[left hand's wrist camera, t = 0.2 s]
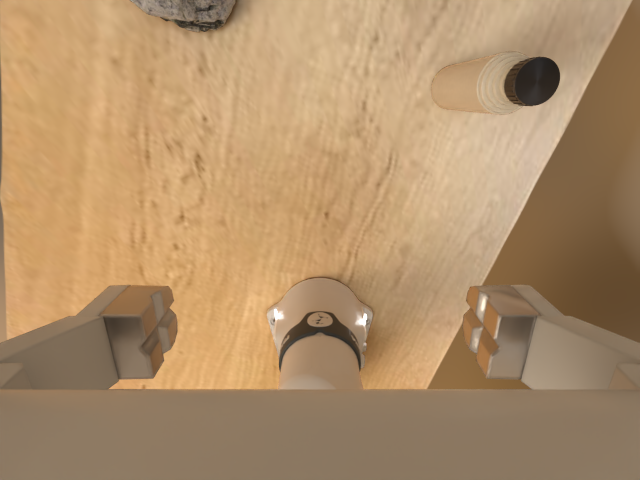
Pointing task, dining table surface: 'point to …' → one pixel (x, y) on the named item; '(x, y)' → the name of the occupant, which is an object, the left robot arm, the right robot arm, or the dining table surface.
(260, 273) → the dining table surface
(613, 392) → the left robot arm
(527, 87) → the cap
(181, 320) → the dining table surface
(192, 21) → the rock
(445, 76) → the bottle
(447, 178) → the dining table surface
